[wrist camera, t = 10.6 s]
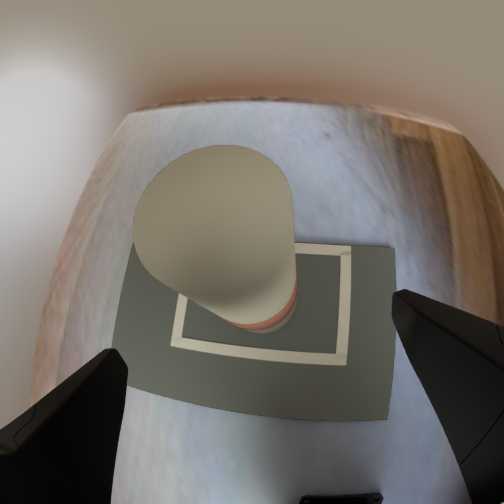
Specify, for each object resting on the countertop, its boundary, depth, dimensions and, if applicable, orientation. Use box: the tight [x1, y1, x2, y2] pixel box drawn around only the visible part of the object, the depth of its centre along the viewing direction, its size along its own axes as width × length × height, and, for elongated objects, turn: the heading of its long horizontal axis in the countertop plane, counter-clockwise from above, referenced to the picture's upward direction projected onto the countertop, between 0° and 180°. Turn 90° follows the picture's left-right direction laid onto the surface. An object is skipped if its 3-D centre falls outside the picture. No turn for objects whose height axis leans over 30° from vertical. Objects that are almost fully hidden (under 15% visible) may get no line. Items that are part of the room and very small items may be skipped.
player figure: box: [133, 145, 297, 334], centre depth 14 cm, size 5×5×13 cm
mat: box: [112, 242, 396, 421], centre depth 20 cm, size 22×13×1 cm, turn 83°
